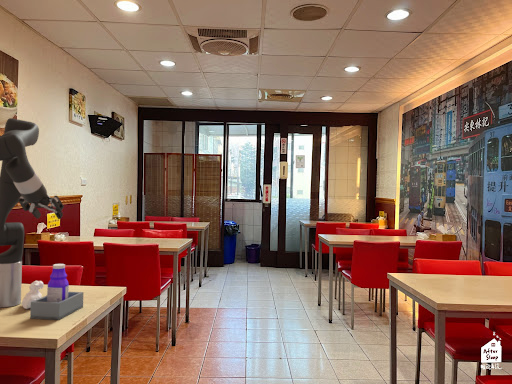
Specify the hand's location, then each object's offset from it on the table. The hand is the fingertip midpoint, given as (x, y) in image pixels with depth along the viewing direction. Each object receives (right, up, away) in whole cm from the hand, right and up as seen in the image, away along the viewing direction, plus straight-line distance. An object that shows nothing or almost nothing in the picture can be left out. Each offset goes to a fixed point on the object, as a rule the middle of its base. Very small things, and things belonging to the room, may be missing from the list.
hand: (49, 217), depth 141 cm
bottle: (+1, -36, +3) cm, 36 cm away
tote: (+2, -37, +3) cm, 37 cm away
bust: (-13, -37, +10) cm, 40 cm away
